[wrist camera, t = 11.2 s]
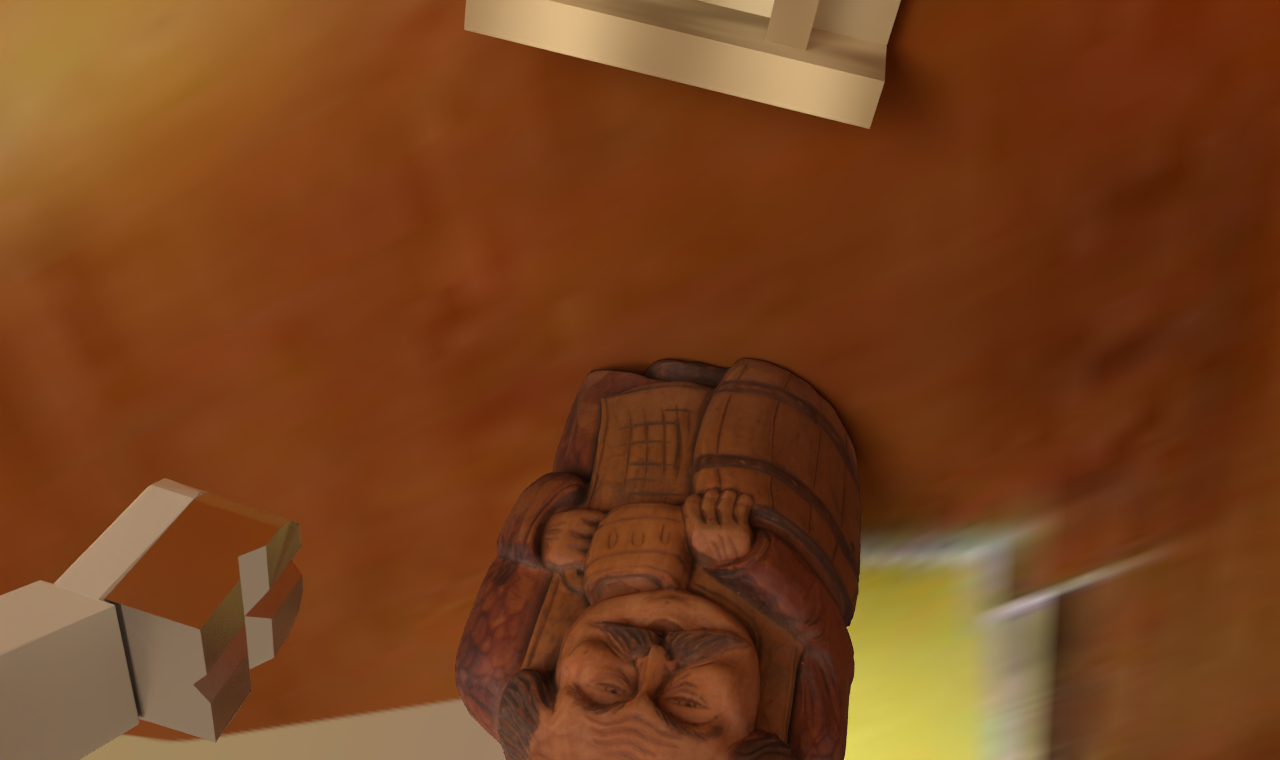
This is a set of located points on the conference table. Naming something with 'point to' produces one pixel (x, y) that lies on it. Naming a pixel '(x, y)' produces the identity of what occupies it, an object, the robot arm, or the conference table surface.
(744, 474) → the wooden figurine
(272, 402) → the conference table surface
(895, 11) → the track frame
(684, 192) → the conference table surface
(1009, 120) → the conference table surface
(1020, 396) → the conference table surface
